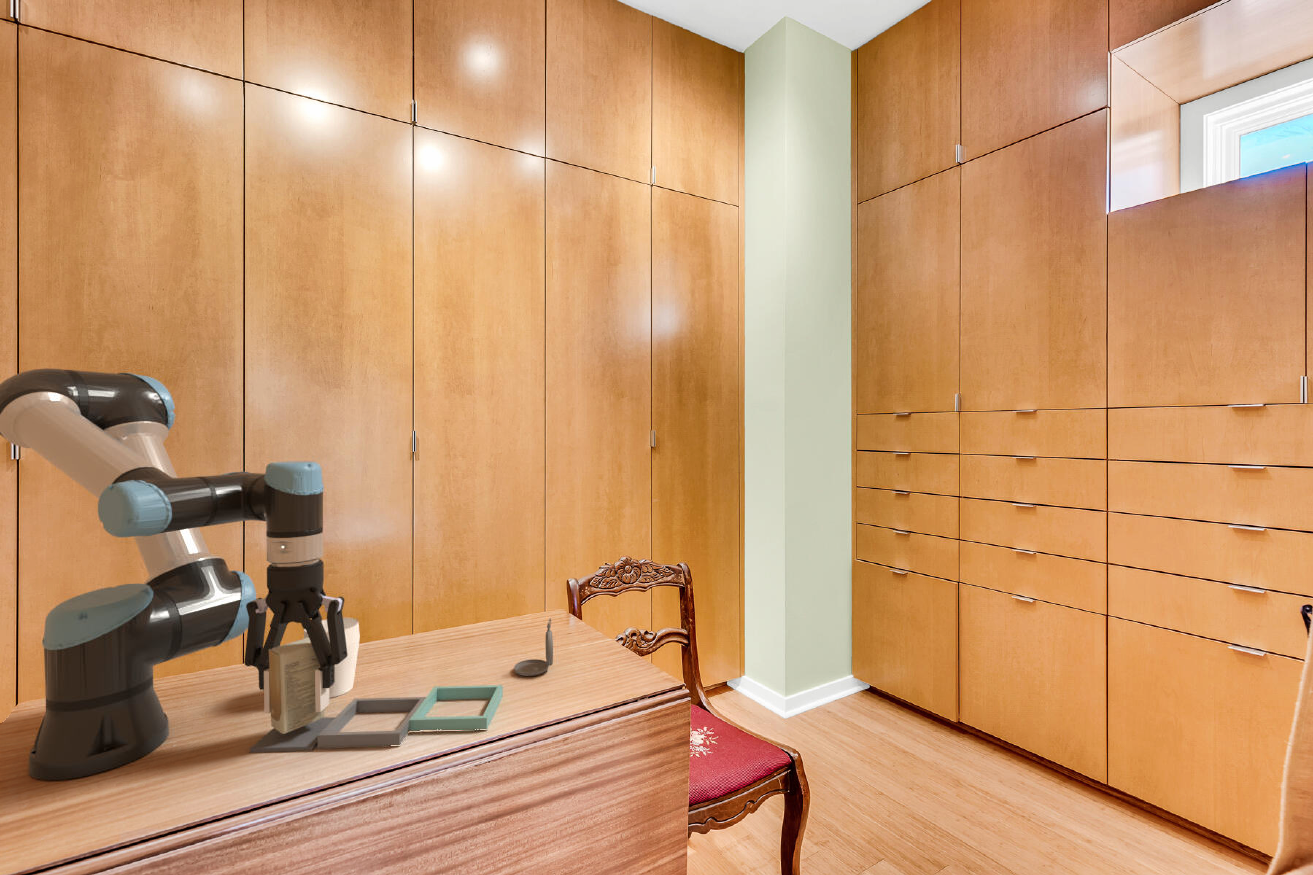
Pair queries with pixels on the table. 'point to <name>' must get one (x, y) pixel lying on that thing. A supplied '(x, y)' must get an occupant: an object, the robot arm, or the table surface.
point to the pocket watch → (537, 665)
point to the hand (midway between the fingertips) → (297, 708)
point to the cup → (348, 665)
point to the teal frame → (457, 722)
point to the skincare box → (293, 685)
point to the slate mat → (292, 738)
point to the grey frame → (337, 739)
